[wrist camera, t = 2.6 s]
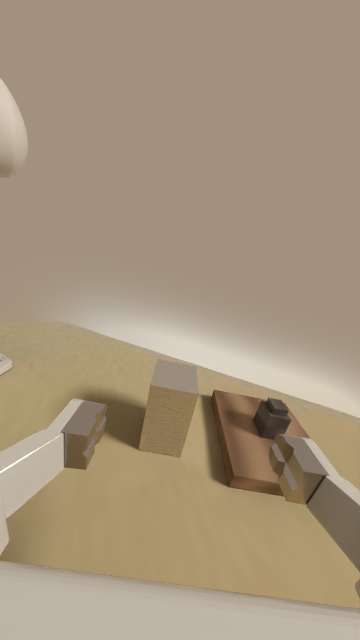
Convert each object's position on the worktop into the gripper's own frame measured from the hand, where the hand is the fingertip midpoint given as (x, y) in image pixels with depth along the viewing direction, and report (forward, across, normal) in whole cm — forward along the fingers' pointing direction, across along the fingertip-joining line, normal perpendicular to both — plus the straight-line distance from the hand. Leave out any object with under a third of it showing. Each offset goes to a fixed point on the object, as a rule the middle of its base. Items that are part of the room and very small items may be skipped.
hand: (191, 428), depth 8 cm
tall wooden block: (+12, 0, +16) cm, 20 cm away
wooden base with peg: (+14, -15, +16) cm, 26 cm away
